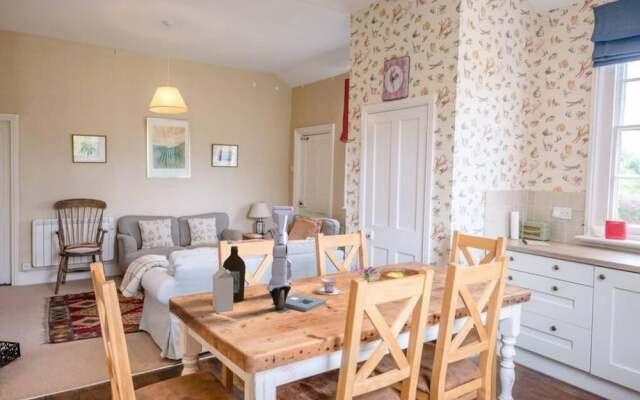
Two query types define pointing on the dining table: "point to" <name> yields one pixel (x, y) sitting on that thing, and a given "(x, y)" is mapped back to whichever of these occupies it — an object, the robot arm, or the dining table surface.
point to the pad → (279, 310)
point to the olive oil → (236, 273)
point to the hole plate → (298, 302)
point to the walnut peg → (280, 301)
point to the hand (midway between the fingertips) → (279, 304)
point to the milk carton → (222, 291)
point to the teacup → (329, 287)
